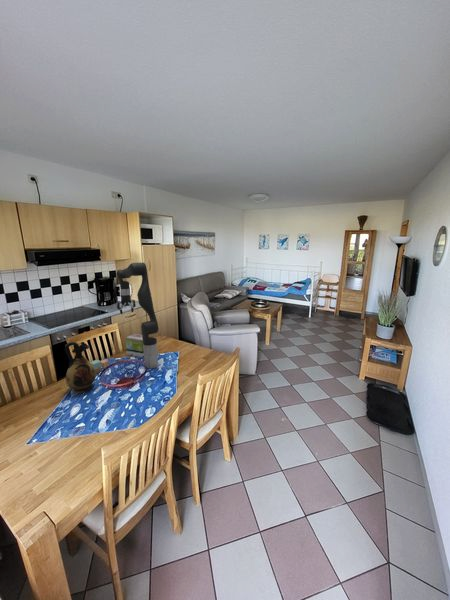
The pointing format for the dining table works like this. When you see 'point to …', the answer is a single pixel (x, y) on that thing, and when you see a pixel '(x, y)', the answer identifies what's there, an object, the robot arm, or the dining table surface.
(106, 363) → the terracotta cube
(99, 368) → the walnut base block
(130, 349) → the tea box
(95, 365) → the teal middle block
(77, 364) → the ceramic jug
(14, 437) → the dining table surface
